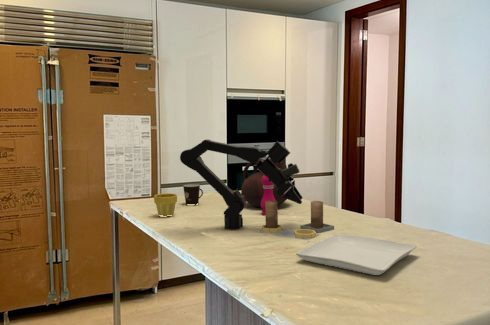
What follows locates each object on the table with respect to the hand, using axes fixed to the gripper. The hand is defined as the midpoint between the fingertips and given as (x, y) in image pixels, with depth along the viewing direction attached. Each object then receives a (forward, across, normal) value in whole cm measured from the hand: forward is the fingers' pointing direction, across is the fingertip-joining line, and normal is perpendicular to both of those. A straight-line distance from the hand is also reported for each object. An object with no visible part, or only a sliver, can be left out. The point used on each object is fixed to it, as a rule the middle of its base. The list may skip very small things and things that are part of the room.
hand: (301, 200), depth 163 cm
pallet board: (+5, -7, +12) cm, 15 cm away
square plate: (+21, -31, -3) cm, 38 cm away
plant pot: (-36, +25, +52) cm, 68 cm away
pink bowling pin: (-3, +31, +20) cm, 37 cm away
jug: (-5, +51, +22) cm, 56 cm away
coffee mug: (-32, +52, +49) cm, 78 cm away
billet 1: (0, -3, +16) cm, 16 cm away
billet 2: (+12, 0, +4) cm, 13 cm away
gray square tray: (+12, 0, +4) cm, 13 cm away
